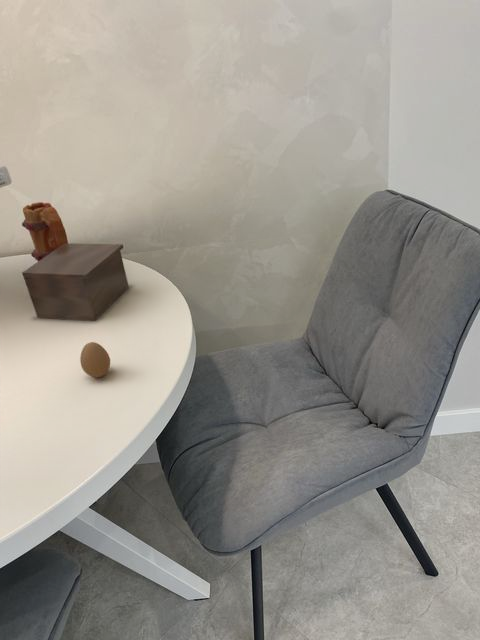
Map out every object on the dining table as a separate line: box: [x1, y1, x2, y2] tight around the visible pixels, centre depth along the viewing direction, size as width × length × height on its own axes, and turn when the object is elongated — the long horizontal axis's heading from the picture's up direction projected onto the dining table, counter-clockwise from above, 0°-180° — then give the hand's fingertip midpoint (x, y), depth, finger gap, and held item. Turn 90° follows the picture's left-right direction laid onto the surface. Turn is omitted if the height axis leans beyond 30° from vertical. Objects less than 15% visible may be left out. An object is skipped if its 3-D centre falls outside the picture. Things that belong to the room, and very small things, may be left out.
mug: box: [21, 201, 69, 262], centre depth 124 cm, size 15×8×15 cm, turn 42°
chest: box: [23, 250, 130, 322], centre depth 109 cm, size 13×15×9 cm
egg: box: [79, 341, 111, 378], centre depth 86 cm, size 4×4×6 cm
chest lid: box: [21, 242, 124, 279], centre depth 106 cm, size 14×15×1 cm
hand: (1, 179), depth 98 cm, fingers closed
